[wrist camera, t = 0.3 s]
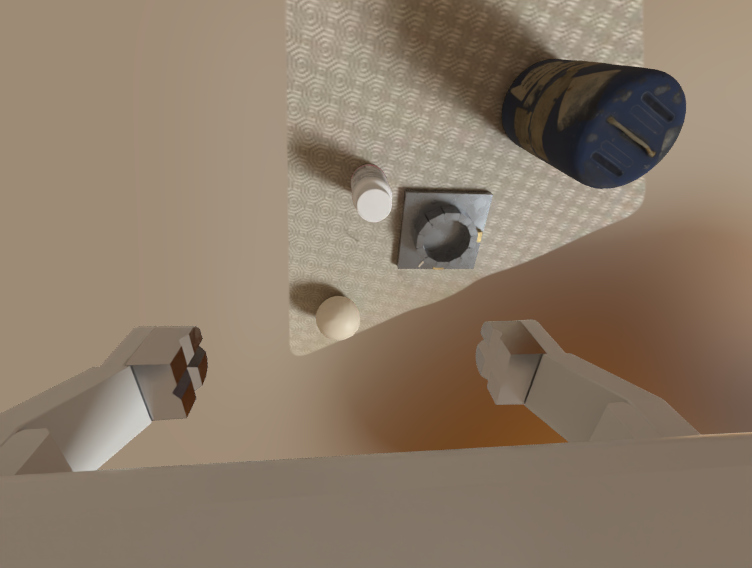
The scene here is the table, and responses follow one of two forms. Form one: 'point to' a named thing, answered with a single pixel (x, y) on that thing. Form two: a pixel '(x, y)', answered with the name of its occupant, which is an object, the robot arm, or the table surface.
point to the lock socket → (442, 229)
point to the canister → (595, 118)
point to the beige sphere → (338, 318)
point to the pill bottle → (371, 193)
